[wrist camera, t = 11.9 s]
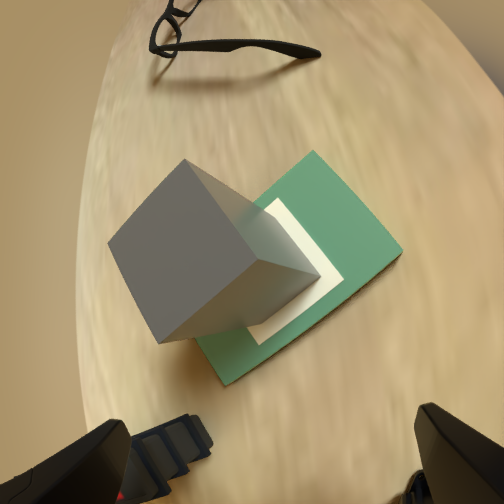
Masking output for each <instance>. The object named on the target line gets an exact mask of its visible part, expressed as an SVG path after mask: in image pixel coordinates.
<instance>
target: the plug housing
mask: <svg viewBox="0 0 504 504" xmlns="http://www.w3.org/2000/svg"><path fill="white" fill-rule="evenodd" d="M107 244H108V246H109V248H110V250H111V252H112V255H113V257H114V259H115V261H116V263H117V265H118V268H119V270H120V272H121V274H122V276H123V278H124V280H125V282H126V284H127V286H128V288H129V290H130V292H131V294H132V296H133V298H134V300H135V302H136V304H137V306H138V308H139V310H140V312H141V314H142V315H143V317H144V319H145V321H146V323H147V325H148V327H149V328H150V330H151V332H152V334H153V336H154V337H155V339H156V341H157V343H158V344H162V343H168V342H174V341H179V340H185V339H190V338H196V337H201V336H206V335H211V334H216V333H221V332H226V331H231V330H236V329H241V328H245V327H250V326H254V325H259V324H262V323H263V322H265V321H266V320H267V319H269V318H270V317H271V316H272V315H274V314H275V313H276V312H278V311H279V310H280V309H281V308H283V307H284V306H285V305H286V304H288V303H289V302H290V301H292V300H293V299H294V298H295V297H297V296H298V295H299V294H300V293H302V292H303V291H304V290H305V289H306V288H308V287H309V286H310V285H311V284H313V283H314V282H315V281H316V280H318V279H319V278H320V277H321V275H320V274H319V273H318V271H317V270H316V269H315V267H314V266H313V265H312V264H311V262H310V261H309V260H308V258H307V257H306V256H305V255H304V253H303V252H302V251H301V250H300V248H299V247H298V246H297V244H296V243H295V242H294V241H293V239H292V238H291V237H290V236H289V234H288V233H287V232H286V231H285V229H284V228H283V227H282V226H281V224H280V223H279V222H278V221H277V219H276V218H275V217H273V216H272V215H270V214H269V213H267V212H266V211H265V210H263V209H262V208H260V207H259V206H257V205H256V204H254V203H252V202H251V201H249V200H248V199H246V198H245V197H243V196H242V195H240V194H239V193H237V192H236V191H234V190H233V189H231V188H230V187H228V186H227V185H225V184H223V183H222V182H220V181H219V180H217V179H216V178H214V177H213V176H211V175H210V174H208V173H206V172H205V171H203V170H202V169H200V168H199V167H197V166H195V165H194V164H192V163H191V162H189V161H187V160H186V159H184V160H183V161H182V162H181V163H180V164H179V165H178V166H177V167H176V168H175V169H174V170H173V171H172V172H171V173H170V174H169V175H168V176H167V177H166V178H165V179H164V180H163V181H162V182H161V183H160V184H159V185H158V187H157V188H156V189H155V190H154V191H153V192H152V193H151V194H150V195H149V196H148V197H147V198H146V200H145V201H144V202H143V203H142V204H141V205H140V206H139V207H138V208H137V209H136V211H135V212H134V213H133V214H132V215H131V216H130V217H129V219H128V220H127V221H126V222H125V223H124V224H123V225H122V227H121V228H120V229H119V230H118V231H117V232H116V234H115V235H114V236H113V237H112V238H111V240H110V241H109V242H108V243H107Z"/></svg>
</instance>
